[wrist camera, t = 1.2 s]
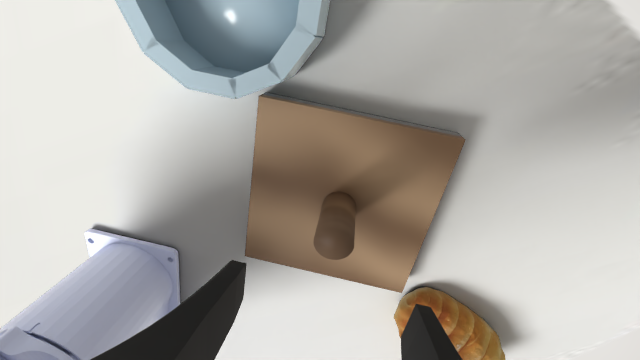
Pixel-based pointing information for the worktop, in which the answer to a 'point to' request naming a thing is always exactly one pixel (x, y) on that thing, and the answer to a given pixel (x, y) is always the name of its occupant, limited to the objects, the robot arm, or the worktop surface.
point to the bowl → (227, 40)
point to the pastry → (454, 324)
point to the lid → (344, 191)
